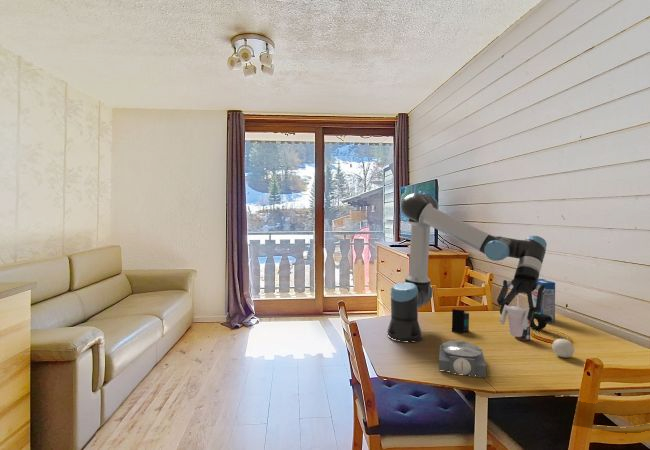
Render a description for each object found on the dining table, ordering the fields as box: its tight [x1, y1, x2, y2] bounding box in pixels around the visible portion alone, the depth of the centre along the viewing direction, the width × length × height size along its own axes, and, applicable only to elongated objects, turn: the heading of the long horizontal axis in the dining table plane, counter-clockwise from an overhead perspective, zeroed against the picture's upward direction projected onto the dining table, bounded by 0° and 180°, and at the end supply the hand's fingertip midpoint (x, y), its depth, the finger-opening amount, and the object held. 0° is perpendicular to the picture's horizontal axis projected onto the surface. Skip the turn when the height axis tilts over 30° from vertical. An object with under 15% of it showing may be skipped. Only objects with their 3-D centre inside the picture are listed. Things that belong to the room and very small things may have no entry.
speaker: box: [451, 308, 470, 334], centre depth 156 cm, size 8×6×10 cm
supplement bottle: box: [514, 320, 531, 342], centre depth 145 cm, size 6×6×11 cm
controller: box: [530, 312, 552, 330], centre depth 156 cm, size 4×12×10 cm, turn 18°
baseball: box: [551, 338, 575, 359], centre depth 127 cm, size 7×7×7 cm
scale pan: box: [442, 340, 482, 358], centre depth 121 cm, size 13×13×1 cm
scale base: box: [438, 343, 487, 378], centre depth 121 cm, size 15×16×6 cm
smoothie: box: [506, 295, 528, 337], centre depth 116 cm, size 6×6×14 cm
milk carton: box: [531, 278, 556, 323], centre depth 170 cm, size 10×6×20 cm, turn 179°
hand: (512, 324), depth 114 cm, fingers closed on smoothie, 6 cm apart
